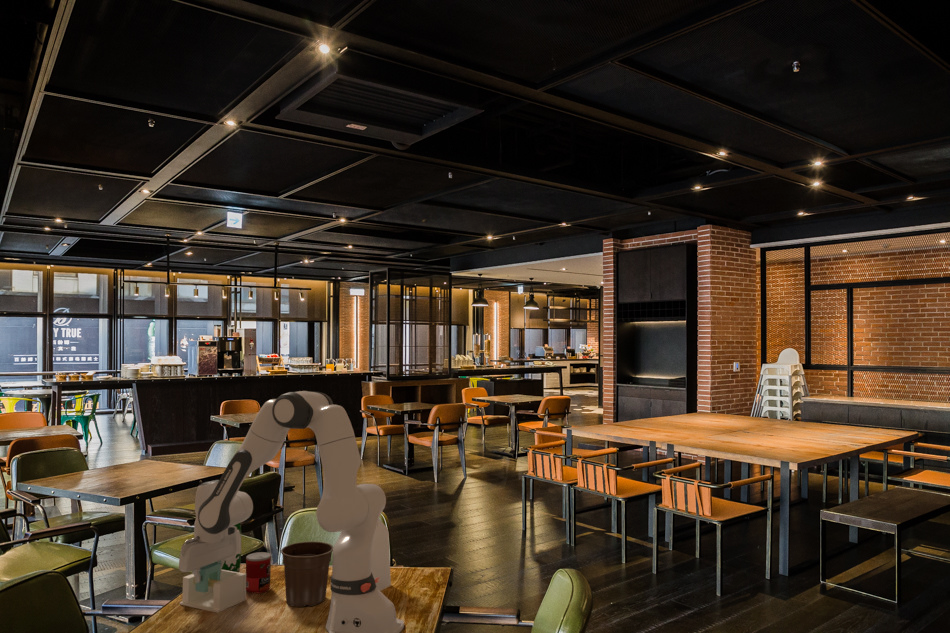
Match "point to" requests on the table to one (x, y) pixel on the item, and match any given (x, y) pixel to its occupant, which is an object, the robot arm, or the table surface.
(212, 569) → the green slotted block
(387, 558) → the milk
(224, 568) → the milk carton
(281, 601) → the table surface
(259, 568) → the canned food
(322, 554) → the plant pot
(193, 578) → the shelf
